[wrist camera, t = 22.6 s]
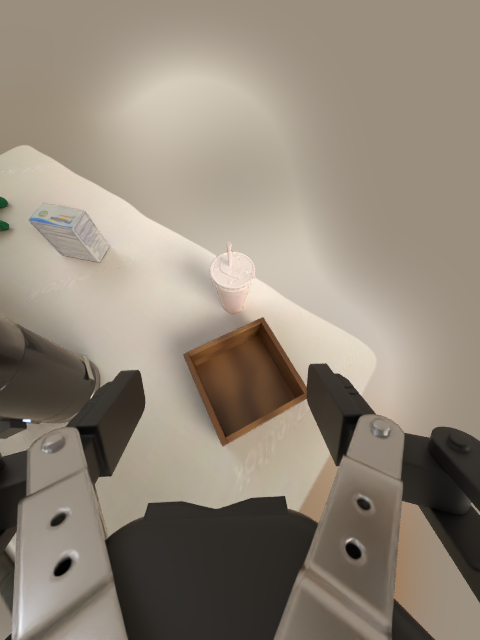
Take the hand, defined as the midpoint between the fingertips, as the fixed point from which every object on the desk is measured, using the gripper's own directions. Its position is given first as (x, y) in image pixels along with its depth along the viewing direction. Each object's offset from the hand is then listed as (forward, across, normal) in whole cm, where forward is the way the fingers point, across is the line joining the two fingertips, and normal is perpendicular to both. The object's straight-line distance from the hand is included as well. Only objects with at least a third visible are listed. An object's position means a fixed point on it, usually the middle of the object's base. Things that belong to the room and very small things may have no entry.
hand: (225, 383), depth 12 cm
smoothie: (+31, 0, +5) cm, 31 cm away
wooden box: (+21, -2, +14) cm, 26 cm away
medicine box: (+40, +28, -4) cm, 49 cm away
